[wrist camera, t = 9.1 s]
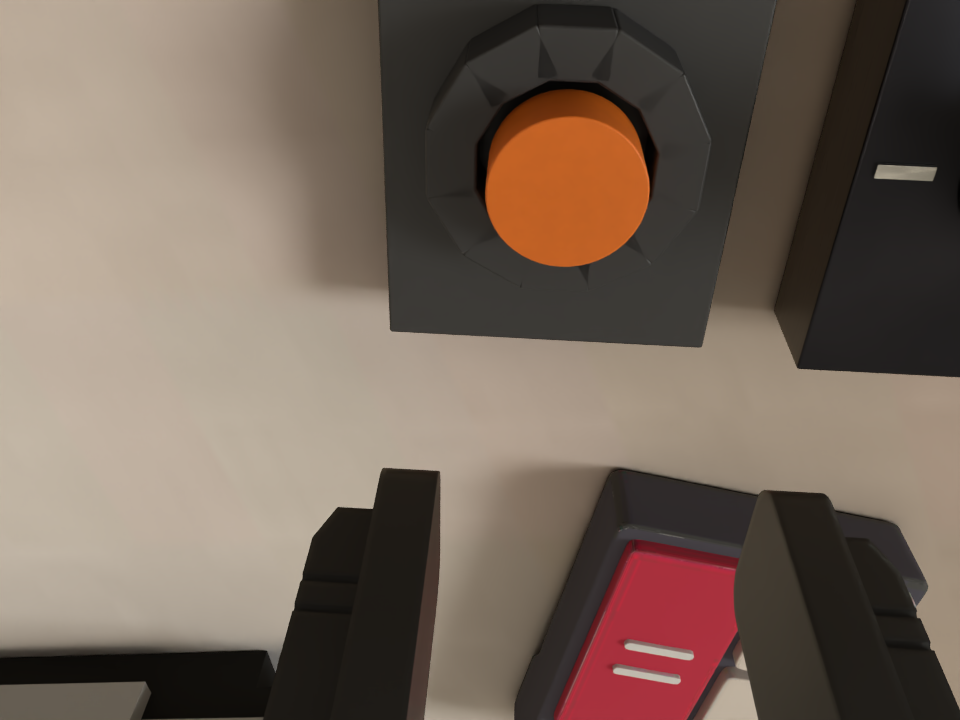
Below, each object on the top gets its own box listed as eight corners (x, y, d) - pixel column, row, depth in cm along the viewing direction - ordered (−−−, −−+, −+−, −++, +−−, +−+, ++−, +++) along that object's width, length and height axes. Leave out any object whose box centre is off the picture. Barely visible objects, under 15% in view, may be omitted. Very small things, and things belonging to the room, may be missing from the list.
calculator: (944, 602, 29) (766, 841, 37) (897, 511, 32) (744, 747, 40) (621, 540, 28) (510, 799, 36) (609, 454, 31) (512, 707, 40)
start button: (490, 84, 20) (487, 112, 18) (652, 91, 20) (661, 120, 18) (485, 228, 22) (482, 263, 20) (631, 236, 22) (638, 271, 20)
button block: (386, -154, 20) (358, -132, 17) (780, -139, 20) (828, -112, 17) (399, 292, 27) (381, 369, 24) (690, 307, 27) (712, 386, 24)
